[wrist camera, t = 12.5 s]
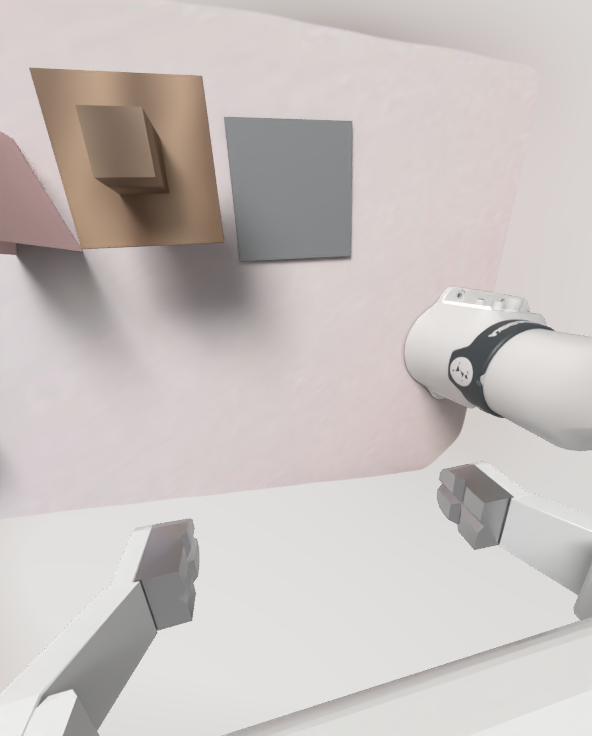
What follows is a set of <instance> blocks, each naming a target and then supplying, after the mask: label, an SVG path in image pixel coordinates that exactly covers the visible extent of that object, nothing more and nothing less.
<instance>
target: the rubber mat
mask: <svg viewBox="0 0 592 736" xmlns="http://www.w3.org/2000/svg"><path fill="white" fill-rule="evenodd" d="M224 121H225V130H226V139H227V148H228V157H229V166H230V175H231V184H232V194H233V203H234V212H235V221H236V230H237V239H238V248H239V257H240V261H260V260H280V259H300V258H320V257H341V256H351V190H352V121H331V120H302V119H272V118H242V117H224Z"/></svg>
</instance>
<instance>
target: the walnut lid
mask: <svg viewBox="0 0 592 736" xmlns="http://www.w3.org/2000/svg"><path fill="white" fill-rule="evenodd" d="M29 69H30V72H31V76H32V79H33V82H34V86H35V89H36V93H37V96H38V100H39V103H40V107H41V110H42V114H43V117H44V121H45V124H46V127H47V131H48V134H49V138H50V141H51V145H52V148H53V152H54V155H55V159H56V162H57V166H58V169H59V173H60V176H61V179H62V183H63V186H64V190H65V193H66V197H67V200H68V204H69V207H70V211H71V214H72V218H73V221H74V224H75V228H76V231H77V235H78V238H79V242H80V245H81V249H97V248H118V247H140V246H162V245H183V244H205V243H224V237H223V230H222V222H221V215H220V207H219V200H218V192H217V185H216V177H215V169H214V162H213V154H212V147H211V139H210V132H209V124H208V117H207V109H206V101H205V94H204V86H203V79H202V76H193V75H172V74H150V73H129V72H107V71H86V70H64V69H43V68H29Z"/></svg>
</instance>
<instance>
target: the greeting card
mask: <svg viewBox="0 0 592 736" xmlns="http://www.w3.org/2000/svg"><path fill="white" fill-rule="evenodd" d="M16 243H20V244H28V245H35V246H43V247H51V248H58V249H66V250H74V251H81V252H83V251H82V249H81V248H80V246H79V245H78V243H77V241H76V240H75V238H74V237H73V235H72V233H71V232H70V230H69V229H68V227H67V225H66V224H65V222H64V220H63V219H62V217H61V216H60V214H59V212H58V211H57V209H56V208H55V206H54V204H53V203H52V201H51V200H50V198H49V196H48V195H47V193H46V191H45V190H44V188H43V187H42V185H41V183H40V182H39V180H38V179H37V177H36V175H35V174H34V172H33V170H32V169H31V167H30V166H29V164H28V162H27V161H26V159H25V158H24V156H23V154H22V153H21V151H20V150H19V148H18V146H17V145H16V143H15V141H14V140H13V139H12V138H10V137H9V136H7V135H5V134H4V133H2V132H0V254H11V255H16Z"/></svg>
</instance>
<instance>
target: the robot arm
mask: <svg viewBox="0 0 592 736" xmlns="http://www.w3.org/2000/svg"><path fill="white" fill-rule="evenodd" d="M458 294H459V297H457V296H458ZM404 357H405V363H406V367H407V369H408V371H409V373H410V375H411V376H412V377H413V378H414V379H415V380H416V381H418V382H419V383H421V384H423V385H424V386H426V387H427V389H428V391H429V392H430V394H431V395H432V396H433V397H434V398H436V399H444V398H448V399H450V400H452V401H454V402H457V403H459V404H461V405H463V406H465V407H468V408H474V407H477V408H479V409H480V410H483V411H484V412H486V413H490V414H492V415H494V416H497V417H500V418H506V419H508V420H510V421H512V422H513V423H515V424H517V425H519V426H521V427H523V428H525V429H526V430H528V431H530V432H532V433H534V434H535V435H537V436H539V437H541V438H543V439H545V440H546V441H548V442H550V443H552V444H554V445H556V446H558V447H561V448H565V449H568V450H575V451H587V450H592V337H589V336H581V335H575V334H569V333H563V332H557V331H554V330H553V329H551V328H549V327H547V326H546V322H545V319H544V317H543V316H542V315H541V314H536V313H530V310H529V305H528V302H527V300H526V299H525V298H521V297H516V296H511V295H504V294H498V293H492V292H486V291H480V290H473V289H467V288H461V287H455V286H450V287H448V288H446V289H445V290H444V292H443V293H442V294H441V296H440V297H439V299H438V301H437V302H436V303H435V304H434V305H433V306H432V307H431V308H429V309H428V310H427V311H426V312H424V313H423V314H422V315H421V316H420V317H419V318H418V320H417V321H416V322H415V323H414V325H413V327H412V328H411V330H410V332H409V334H408V337H407V340H406V344H405V351H404ZM439 480H440V481H441V482H442V485H441V486H440V487H439V489H438V492H437V500H438V503H439V507H440V508H441V510H442V512H443V514H444V515H445V516H446V517H447V518H448V519H449V520H450V521H452V522H454V523H456V524H458V531H459V532H460V534H461V535H462V536H463V537H464V538H465V540H466V541H467V542H468V543H469V544H470V545H471V546H472V548H473V549H474V550H476V549H481V548H485V547H490V546H495V545H499V544H500V545H499V546H500V547H502V548H503V549H505V550H507V551H508V552H510V553H511V554H513V555H515V556H516V557H517V558H519V559H521V560H522V561H524V562H525V563H527V564H529V565H530V566H532V567H534V568H535V569H537V570H538V571H540V572H542V573H543V574H545V575H546V576H548V577H550V578H551V579H553V580H554V581H556V582H558V583H559V584H561V585H562V586H564V587H566V588H567V589H569V590H570V591H572V592H574V593H576V594H577V595H579V596H578V598H577V601H576V603H575V606H574V614H575V615H576V616H577V617H578V618H579V619H580V620H581V621H578V622H575V623H572V624H569V625H566V626H562V627H560V628H556V629H554V630H550V631H547V632H544V633H541V634H537V635H534V636H531V637H528V638H525V639H522V640H519V641H516V642H513V643H510V644H506V645H503V646H500V647H497V648H494V649H491V650H488V651H484V652H481V653H478V654H475V655H472V656H469V657H466V658H463V659H460V660H456V661H453V662H450V663H447V664H444V665H441V666H438V667H435V668H431V669H429V670H425V671H422V672H419V673H416V674H413V675H410V676H406V677H404V678H400V679H397V680H394V681H391V682H388V683H385V684H382V685H378V686H375V687H372V688H369V689H366V690H363V691H360V692H357V693H354V694H351V695H348V696H344V697H341V698H338V699H335V700H332V701H328V702H325V703H322V704H319V705H316V706H313V707H310V708H307V709H304V710H301V711H298V712H294V713H291V714H288V715H285V716H282V717H279V718H276V719H273V720H270V721H266V722H263V723H260V724H257V725H254V726H251V727H248V728H245V729H241V730H238V731H235V732H232V733H229V734H226V735H223V736H592V515H590V514H588V513H585V512H582V511H579V510H577V509H574V508H572V507H569V506H566V505H564V504H561V503H558V502H555V501H553V500H550V499H547V498H545V497H542V496H539V495H537V494H529V493H527V492H526V491H525V490H523V489H522V488H521V487H519V486H518V485H517V484H516V483H514V482H513V481H512V480H510V479H509V478H508V477H506V476H505V475H503V474H502V473H501V472H500V471H498V470H497V469H496V468H494V467H493V466H492V465H490V464H489V463H487V462H484V461H481V462H476V463H471V464H466V465H462V466H457V467H452V468H447V469H443V470H442V471H441V472H440V477H439ZM193 534H194V524H193V521H192V519H184V520H178V521H172V522H166V523H160V524H155V525H150V526H144V527H138V528H135V530H134V531H133V532H132V533H131V535H130V538H129V540H128V543H127V545H126V548H125V550H124V552H123V555H122V558H121V560H120V562H119V565H118V567H117V570H116V572H115V574H114V577H113V579H112V582H111V584H110V587H109V588H106V589H102V591H100V592H99V594H98V595H97V596H96V597H95V598H94V599H93V600H92V601H91V602H90V603H89V604H88V605H87V606H86V607H85V608H84V609H83V610H82V611H81V612H80V613H79V614H78V615H77V616H76V617H75V618H74V619H73V620H72V621H71V622H70V623H69V624H68V625H67V626H66V628H64V629H63V630H62V631H61V632H60V633H59V635H57V636H56V638H55V639H54V640H53V641H52V642H51V643H50V644H49V645H48V646H47V647H46V648H45V649H44V650H43V651H42V652H41V653H40V654H39V655H38V656H37V657H36V658H35V659H34V660H33V661H32V662H31V663H30V664H29V665H28V666H27V667H26V668H25V669H24V670H23V671H22V672H21V673H20V674H19V675H18V676H17V677H16V678H15V679H14V680H13V681H12V682H11V684H10V685H9V686H8V687H7V688H6V689H5V690H4V691H3V692H2V693H1V694H0V736H99V734H98V732H97V730H98V728H99V727H100V725H101V724H102V722H103V720H104V719H105V717H106V716H107V714H108V712H109V711H110V709H111V707H112V706H113V704H114V703H115V701H116V699H117V698H118V696H119V694H120V693H121V691H122V690H123V688H124V686H125V685H126V683H127V681H128V680H129V678H130V676H131V675H132V673H133V672H134V670H135V668H136V667H137V665H138V664H139V662H140V660H141V659H142V657H143V655H144V654H145V652H146V650H147V649H148V647H149V646H150V644H151V642H152V641H153V639H154V638H155V636H156V634H157V630H161V629H164V628H168V627H172V626H175V625H179V624H182V623H186V622H189V621H192V617H193V609H194V602H195V595H196V592H195V588H194V584H193V582H194V581H195V580H196V578H197V577H198V571H199V546H198V541H197V539H196V538H194V537H193Z"/></svg>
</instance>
